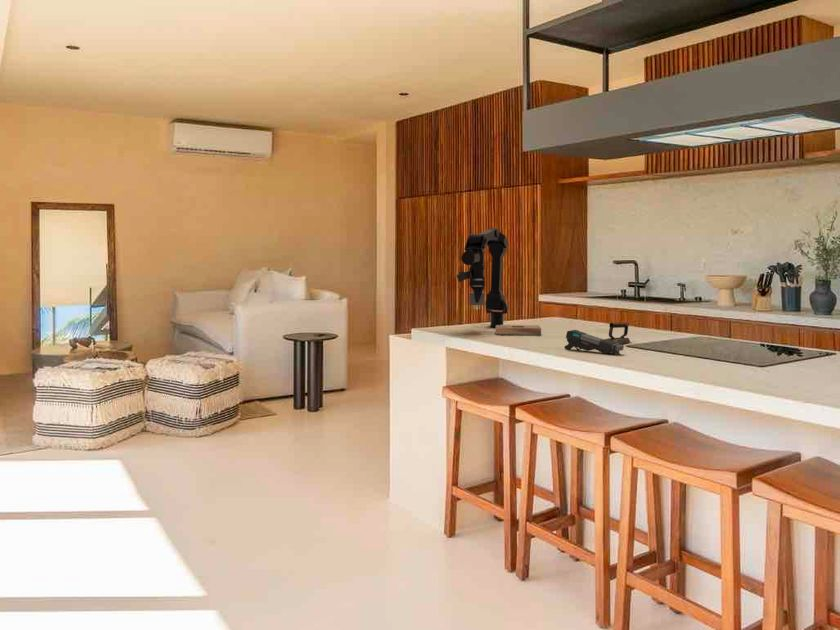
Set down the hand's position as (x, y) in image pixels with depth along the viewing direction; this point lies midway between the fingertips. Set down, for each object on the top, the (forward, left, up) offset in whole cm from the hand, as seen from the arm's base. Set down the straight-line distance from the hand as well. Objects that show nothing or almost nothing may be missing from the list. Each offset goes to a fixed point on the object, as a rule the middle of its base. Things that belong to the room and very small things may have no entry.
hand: (476, 302), depth 302 cm
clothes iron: (+27, +53, -13) cm, 61 cm away
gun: (+50, +40, -13) cm, 65 cm away
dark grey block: (0, 0, -3) cm, 3 cm away
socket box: (+2, +17, -13) cm, 21 cm away
